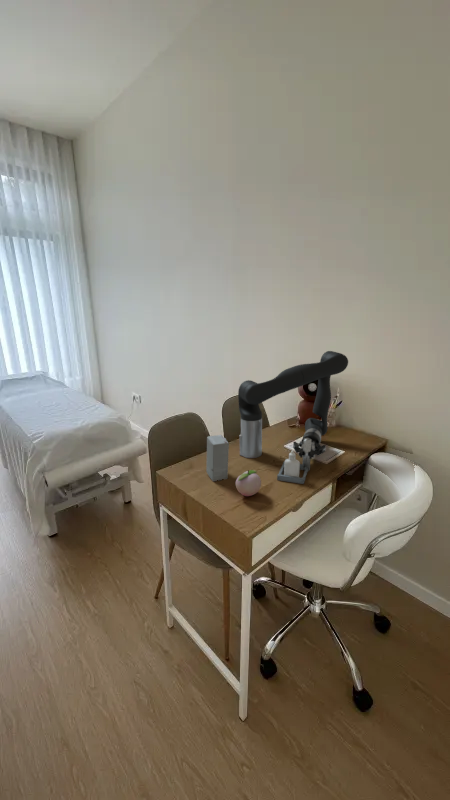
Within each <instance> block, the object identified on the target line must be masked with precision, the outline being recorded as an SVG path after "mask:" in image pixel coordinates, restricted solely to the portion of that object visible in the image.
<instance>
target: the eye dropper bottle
mask: <svg viewBox="0 0 450 800" xmlns="http://www.w3.org/2000/svg"><path fill="white" fill-rule="evenodd" d="M294 451H295V450H294V449H292V450H291V452H289V453H288V458H285V460H284V462H285V463H284V471H283V475H287V476H294V477H300V471H301V470H300V464H301V462H300V460H298V459H296V454H297V453H296V452H294Z"/></svg>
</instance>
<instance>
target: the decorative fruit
mask: <svg viewBox="0 0 450 800" xmlns="http://www.w3.org/2000/svg"><path fill="white" fill-rule="evenodd" d="M257 473H258V471H257V470H255V469H251V470H247V471H244V472H243V473H242V474H240V475H238V476H237V478H236V480H235V487H236V489H237V491H238V493H239V494H240V495H242V496H245V497H251V496H253V495H255V494H257V493H258V492H259V491H260V489H261V486H262V480H261V477H260V475H258V474H257Z"/></svg>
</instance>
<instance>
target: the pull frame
mask: <svg viewBox="0 0 450 800" xmlns="http://www.w3.org/2000/svg"><path fill="white" fill-rule="evenodd" d="M310 452H311V439H310V438H304V441H303V456H302V463H300V470H299V471H301V470H302V471H304V472H303V475H302V477H300V476H299V477H294V476H287V475H284V463H285V461H283V462H282V465H281V467H280V469H279V472H278V473H277V476H276V480H277V481H280V482H281V481H282V482H287V483H288V482H289V483H294V484H301V485H305V481H306V478H307V474H308V472H310V471H311V459H310Z"/></svg>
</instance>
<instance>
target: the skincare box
mask: <svg viewBox="0 0 450 800" xmlns="http://www.w3.org/2000/svg"><path fill="white" fill-rule="evenodd" d="M229 444H230V443H229V442H228V440H227V438H225V437H224V435H222V434H217V435H209V436H207V437H206V473H207V476H208V477H209V478H210V480H211V481H212V482H218V481H223V480H222V479H224V480H227V479H228V477H229V449H230V445H229ZM217 480H218V481H217Z"/></svg>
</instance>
